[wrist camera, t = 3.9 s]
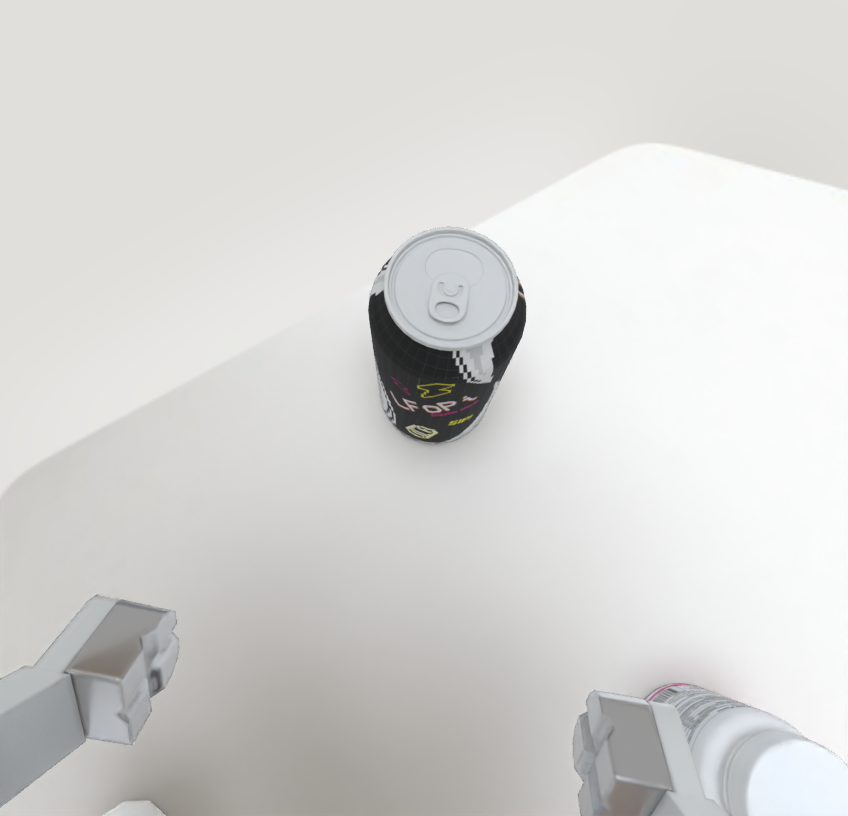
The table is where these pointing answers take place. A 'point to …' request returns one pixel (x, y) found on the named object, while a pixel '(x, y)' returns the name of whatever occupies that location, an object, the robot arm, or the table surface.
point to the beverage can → (444, 331)
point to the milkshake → (135, 809)
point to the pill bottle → (756, 758)
